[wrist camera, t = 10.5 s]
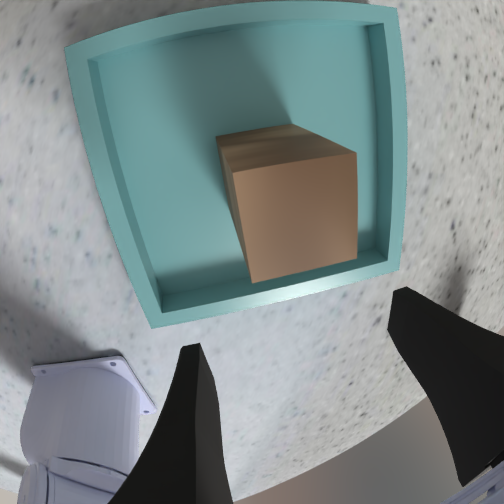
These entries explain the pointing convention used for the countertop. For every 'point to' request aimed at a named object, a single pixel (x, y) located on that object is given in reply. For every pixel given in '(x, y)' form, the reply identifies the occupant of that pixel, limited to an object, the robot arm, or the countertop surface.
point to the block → (290, 199)
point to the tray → (231, 121)
